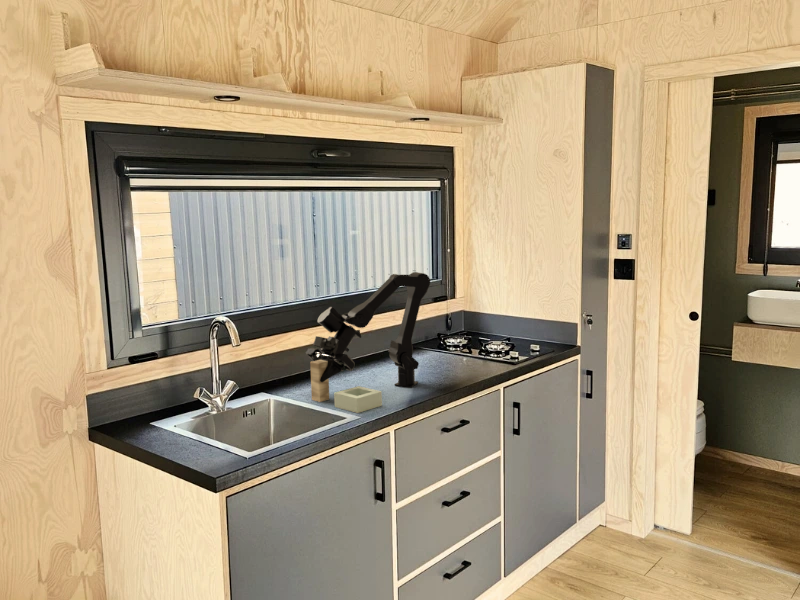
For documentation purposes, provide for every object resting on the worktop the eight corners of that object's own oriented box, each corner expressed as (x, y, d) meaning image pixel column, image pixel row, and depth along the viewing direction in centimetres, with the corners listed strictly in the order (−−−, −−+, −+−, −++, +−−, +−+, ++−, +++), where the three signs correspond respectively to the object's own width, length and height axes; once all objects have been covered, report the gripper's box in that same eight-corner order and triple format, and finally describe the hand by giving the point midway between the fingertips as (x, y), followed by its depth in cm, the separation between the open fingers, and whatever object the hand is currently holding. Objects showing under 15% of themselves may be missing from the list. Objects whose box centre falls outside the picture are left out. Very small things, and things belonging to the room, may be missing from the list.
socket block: (359, 399, 229) (358, 386, 229) (382, 405, 222) (381, 391, 222) (334, 406, 222) (334, 392, 221) (357, 413, 215) (357, 398, 214)
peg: (321, 397, 233) (319, 359, 232) (329, 399, 231) (328, 361, 229) (311, 399, 231) (310, 361, 229) (319, 401, 228) (318, 363, 226)
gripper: (309, 323, 237) (283, 362, 230) (346, 329, 224) (321, 370, 217) (327, 343, 243) (303, 381, 237) (365, 350, 231) (341, 390, 224)
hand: (316, 380), depth 229 cm, fingers closed on peg, 4 cm apart
